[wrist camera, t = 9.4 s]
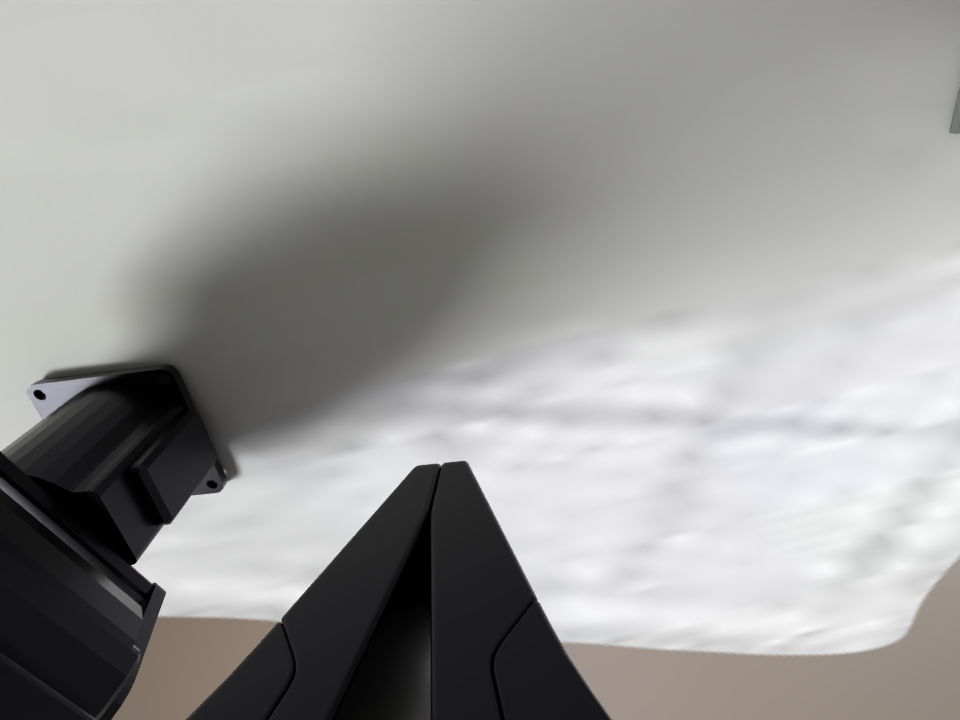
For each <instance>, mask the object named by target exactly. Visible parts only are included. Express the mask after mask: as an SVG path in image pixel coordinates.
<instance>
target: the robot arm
mask: <svg viewBox="0 0 960 720" xmlns="http://www.w3.org/2000/svg"><path fill="white" fill-rule="evenodd" d="M163 375H166V376H168V378H169V379H170V380H167V379H165V378H164V377H163ZM42 391H43V392H44V393H45V394H46V395H45V394H43V392H42ZM27 393H28V395H29V397H30V399H31V401H32V402H33V404H34V406H35V407H36V409H37V411H38V412H39V414H40V416H41V417H42V419H43V420H42V421H41V422H39V423H38V424H37V425H35V426H34V427H33V428H31V429H30V430H29V431H27V432H26V433H25V434H23V435H22V436H21V437H19V438H18V439H17V440H15V441H14V442H13V443H11V444H10V445H9V446H8V447H6V448H5V449H4V450H2V451H0V720H111V719H112V718H113V716H114V715H115V714H116V712H117V711H118V709H119V708H120V707H121V705H122V704H123V702H124V700H125V699H126V697H127V695H128V693H129V692H130V690H131V688H132V685H133V683H134V681H135V679H136V676H137V673H138V670H139V668H140V664H141V662H142V659H143V656H144V653H145V651H146V648H147V645H148V642H149V639H150V636H151V634H152V631H153V628H154V625H155V622H156V620H157V617H158V614H159V611H160V608H161V605H162V603H163V600H164V597H165V594H166V592H165V591H164V590H163V589H162V588H161V587H160V586H159V585H157V584H156V583H153V584H152V583H151V582H150V581H148V580H147V579H146V578H145V577H144V576H143V575H142V574H140V573H139V572H138V571H137V570H136V569H135V568H134V567H132V566H131V565H133V564H135V563H136V562H137V561H138V559H139V558H140V557H141V555H142V554H143V553H144V551H145V550H146V548H147V547H148V546H149V544H150V543H151V542H152V540H153V539H154V538H155V536H156V535H157V533H158V532H159V531H160V529H161V528H162V527H163V525H168V524H170V523H172V521H173V520H174V519H175V517H176V516H177V514H178V513H179V512H180V510H181V509H182V508H183V506H184V505H185V503H186V502H187V501H188V499H189V498H190V496H191V495H200V494H209V493H217V492H220V491H221V490H222V489H223V488H224V486H225V485H226V482H227V479H226V476H225V474H224V471H223V469H222V467H221V465H220V462H219V460H218V456H217V453H216V451H215V449H214V447H213V444H212V442H211V440H210V438H209V435H208V433H207V431H206V429H205V426H204V424H203V422H202V420H201V417H200V415H199V413H198V412H197V411H196V408H195V406H194V404H193V402H192V399H191V397H190V395H189V393H188V390H187V388H186V386H185V384H184V381H183V379H182V377H181V375H180V373H179V371H178V370H177V369H176V368H174V367H173V366H170V365H158V366H150V367H142V368H134V369H126V370H118V371H110V372H102V373H94V374H86V375H78V376H70V377H62V378H54V379H45V380H40V381H37V382H35V383H34V384H32V385H31V386H30V387H29V388H28V391H27ZM212 480H214V481H216V483H215V482H213V481H212ZM186 720H612V719H611V718H610V716H609V715H608V714H607V712H606V711H605V709H604V708H603V706H602V705H601V704H600V702H599V701H598V699H597V698H596V697H595V695H594V694H593V692H592V691H591V689H590V688H589V686H588V685H587V683H586V682H585V680H584V679H583V677H582V676H581V674H580V673H579V671H578V670H577V668H576V667H575V665H574V664H573V662H572V660H571V659H570V658H569V656H568V654H567V653H566V651H565V649H564V647H563V645H562V644H561V642H560V640H559V638H558V637H557V635H556V633H555V631H554V629H553V628H552V626H551V624H550V622H549V620H548V618H547V616H546V614H545V612H544V610H543V609H542V607H541V605H540V603H539V602H538V600H537V597H536V595H535V594H534V592H533V590H532V588H531V586H530V584H529V582H528V580H527V578H526V576H525V574H524V572H523V570H522V568H521V566H520V564H519V562H518V560H517V558H516V556H515V554H514V552H513V550H512V548H511V546H510V545H509V543H508V541H507V539H506V537H505V535H504V533H503V531H502V529H501V527H500V525H499V523H498V521H497V519H496V517H495V515H494V513H493V511H492V509H491V507H490V505H489V503H488V501H487V499H486V497H485V495H484V494H483V492H482V490H481V488H480V486H479V484H478V482H477V480H476V478H475V476H474V474H473V472H472V470H471V468H470V466H469V464H468V463H467V462H466V461H457V462H448V463H444V464H443V465H442V466H441V465H440V464H428V465H419V466H416V467H415V468H414V469H413V470H412V471H411V472H410V473H409V474H408V475H407V477H406V478H405V479H404V480H403V481H402V482H401V483H400V485H399V486H398V487H397V488H396V489H395V490H394V491H393V493H392V494H391V495H390V496H389V497H388V498H387V499H386V500H385V502H384V503H383V504H382V505H381V506H380V507H379V508H378V510H377V511H376V512H375V513H374V514H373V515H372V516H371V517H370V519H369V520H368V521H367V522H366V523H365V524H364V525H363V527H362V528H361V529H360V530H359V531H358V532H357V533H356V535H355V536H354V537H353V538H352V539H351V540H350V541H349V542H348V544H347V545H346V546H345V547H344V548H343V549H342V550H341V552H340V553H339V554H338V555H337V556H336V557H335V558H334V560H333V561H332V562H331V563H330V564H329V565H328V566H327V567H326V569H325V570H324V571H323V572H322V573H321V574H320V575H319V577H318V578H317V579H316V580H315V581H314V582H313V583H312V584H311V586H310V587H309V588H308V589H307V590H306V591H305V592H304V594H303V595H302V596H301V597H300V598H299V599H298V600H297V602H296V603H295V604H294V605H293V606H292V607H291V608H290V609H289V611H288V612H287V613H286V614H285V615H284V616H283V617H282V623H277V624H276V625H275V626H274V627H273V628H272V630H271V631H270V632H269V633H268V634H267V635H266V636H265V638H264V639H263V640H262V641H261V642H260V643H259V644H258V646H257V647H256V648H255V649H254V650H253V651H252V652H251V653H250V654H249V655H248V656H247V657H246V658H245V660H244V661H243V662H242V663H241V664H240V665H239V666H238V667H237V668H236V670H234V672H233V673H232V674H231V675H230V676H229V677H228V678H227V679H226V680H225V681H224V682H223V683H222V684H221V685H220V686H219V687H218V688H217V689H216V690H215V691H214V692H213V693H212V694H211V695H210V696H209V697H208V698H207V699H206V700H205V701H204V702H203V703H202V704H201V705H200V706H199V707H198V708H197V709H196V710H195V711H194V712H193V713H192V714H191V715H190V716H189V717H188V718H187V719H186Z"/></svg>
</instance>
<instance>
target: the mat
mask: <svg viewBox="0 0 960 720" xmlns="http://www.w3.org/2000/svg"><path fill="white" fill-rule="evenodd" d="M950 133H955V134H957V133H960V89H959V93H958V98H957V102H956V107H955V111H954V115H953V120H952V124H951V128H950Z"/></svg>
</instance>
